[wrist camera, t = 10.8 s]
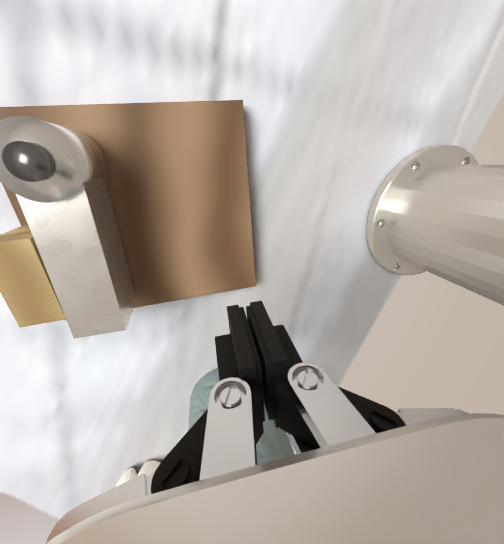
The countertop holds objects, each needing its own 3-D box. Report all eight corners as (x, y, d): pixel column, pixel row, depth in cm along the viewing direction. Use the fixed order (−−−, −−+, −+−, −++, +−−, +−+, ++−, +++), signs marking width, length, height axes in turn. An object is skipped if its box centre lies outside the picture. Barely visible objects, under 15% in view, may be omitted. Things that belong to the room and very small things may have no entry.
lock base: (238, 104, 18) (261, 81, 13) (251, 279, 24) (271, 312, 19) (-14, 112, 15) (-120, 86, 10) (72, 310, 21) (34, 360, 16)
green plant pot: (273, 407, 32) (318, 531, 21) (193, 435, 30) (200, 583, 20) (261, 347, 28) (311, 464, 17) (168, 375, 26) (159, 524, 15)
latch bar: (27, 128, 14) (-49, 112, 10) (97, 127, 15) (58, 112, 10) (89, 306, 19) (59, 353, 14) (139, 299, 20) (126, 341, 15)
